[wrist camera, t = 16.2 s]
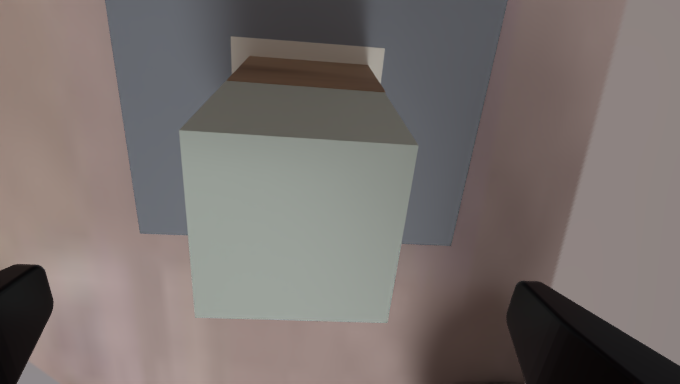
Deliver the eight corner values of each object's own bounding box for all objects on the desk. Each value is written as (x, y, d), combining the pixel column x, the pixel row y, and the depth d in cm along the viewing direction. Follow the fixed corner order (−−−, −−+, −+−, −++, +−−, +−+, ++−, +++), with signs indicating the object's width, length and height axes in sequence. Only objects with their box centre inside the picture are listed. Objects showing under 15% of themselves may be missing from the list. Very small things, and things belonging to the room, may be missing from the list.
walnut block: (356, 172, 20) (367, 225, 16) (251, 166, 20) (231, 219, 15) (368, 64, 18) (385, 91, 13) (249, 55, 18) (226, 80, 13)
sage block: (366, 226, 16) (387, 322, 11) (230, 220, 15) (195, 317, 11) (384, 92, 13) (418, 145, 9) (225, 80, 13) (179, 130, 9)
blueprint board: (445, 235, 23) (451, 246, 22) (147, 223, 22) (139, 233, 21) (504, -29, 18) (515, -30, 17) (106, -67, 16) (94, -70, 15)
